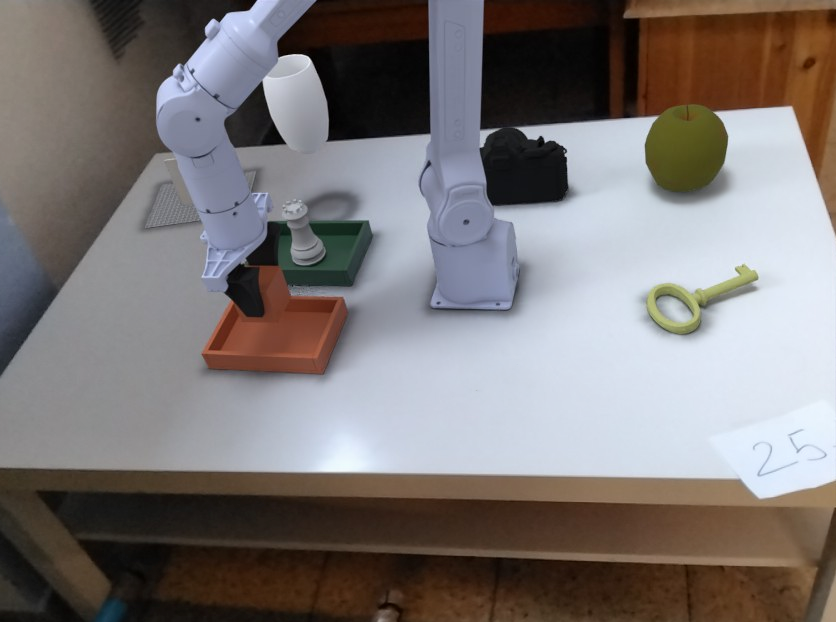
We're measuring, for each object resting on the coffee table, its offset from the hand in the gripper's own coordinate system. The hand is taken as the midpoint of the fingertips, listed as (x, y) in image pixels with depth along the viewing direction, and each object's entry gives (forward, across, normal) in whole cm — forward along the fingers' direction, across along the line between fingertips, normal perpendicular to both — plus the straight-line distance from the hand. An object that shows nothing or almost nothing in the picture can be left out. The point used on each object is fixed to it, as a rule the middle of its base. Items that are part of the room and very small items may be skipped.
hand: (263, 299), depth 92 cm
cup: (+6, -26, -2) cm, 27 cm away
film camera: (+6, -31, +23) cm, 39 cm away
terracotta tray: (+6, 0, 0) cm, 6 cm away
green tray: (+6, -15, -1) cm, 16 cm away
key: (+6, -8, +47) cm, 48 cm away
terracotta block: (+1, 0, 0) cm, 1 cm away
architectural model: (+6, -29, -23) cm, 38 cm away
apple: (+6, -31, +45) cm, 55 cm away
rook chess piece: (+6, -15, -1) cm, 16 cm away
